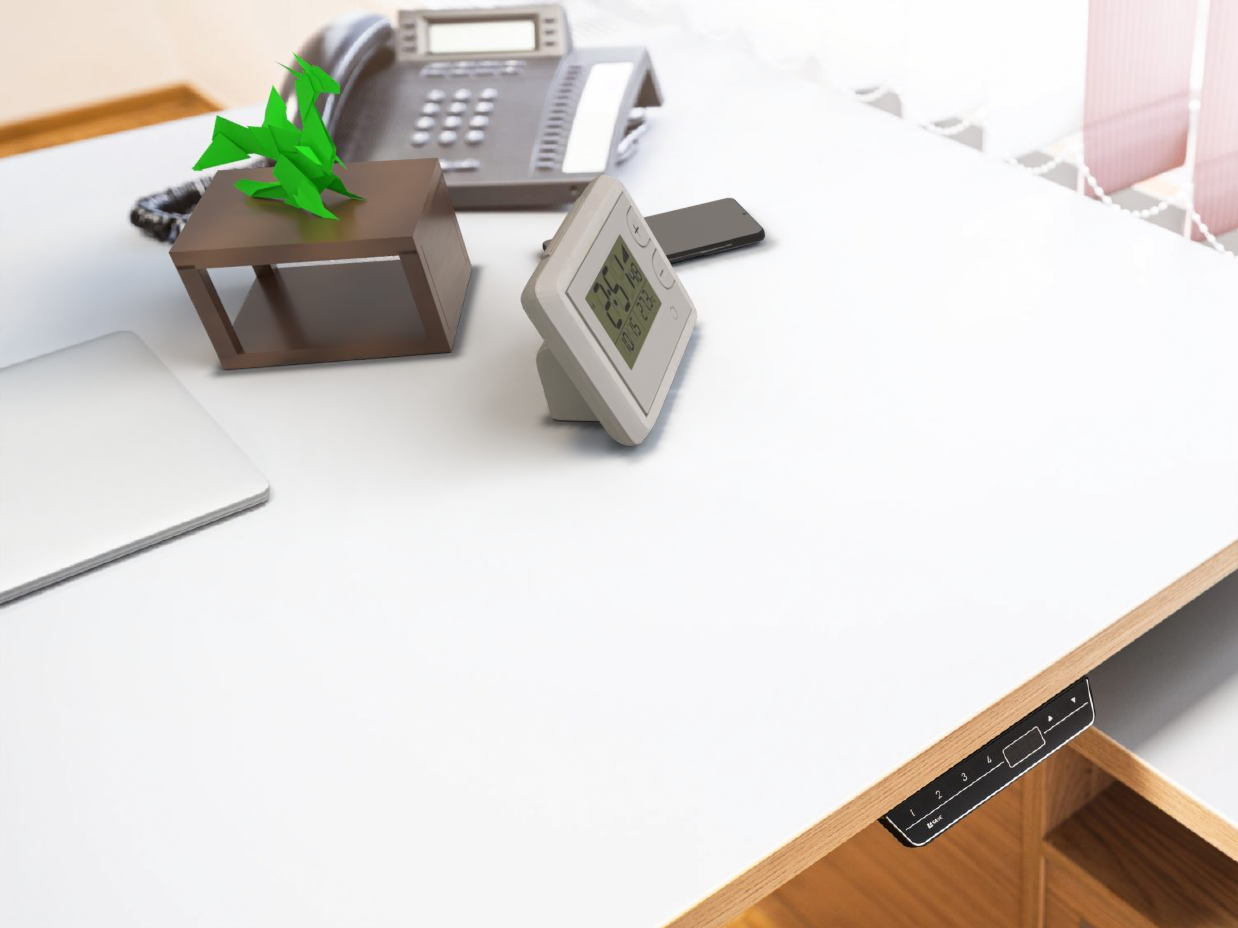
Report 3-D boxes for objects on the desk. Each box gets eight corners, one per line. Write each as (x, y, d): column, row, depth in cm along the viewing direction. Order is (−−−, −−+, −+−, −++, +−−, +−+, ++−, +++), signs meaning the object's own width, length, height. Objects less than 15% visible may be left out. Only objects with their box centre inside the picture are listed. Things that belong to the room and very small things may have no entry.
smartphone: (539, 240, 97) (732, 195, 102) (542, 252, 98) (734, 206, 103) (567, 279, 93) (767, 230, 98) (570, 291, 93) (768, 242, 99)
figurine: (369, 227, 81) (287, 70, 75) (218, 237, 84) (128, 87, 78) (428, 186, 85) (355, 34, 79) (282, 197, 89) (202, 52, 83)
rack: (224, 370, 85) (167, 252, 80) (265, 282, 94) (217, 169, 88) (451, 352, 87) (412, 236, 82) (472, 267, 96) (438, 157, 90)
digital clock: (641, 463, 79) (601, 297, 71) (502, 442, 80) (448, 278, 73) (743, 329, 90) (717, 175, 83) (619, 314, 91) (583, 160, 84)
